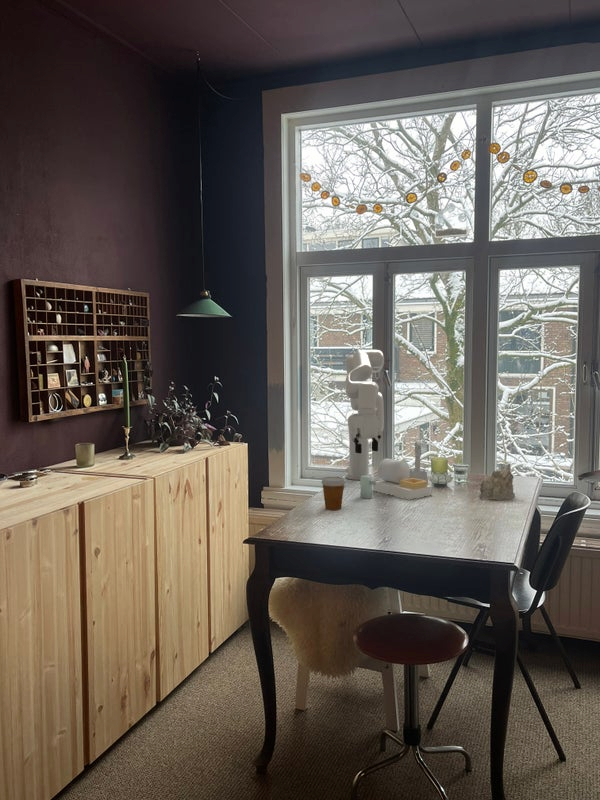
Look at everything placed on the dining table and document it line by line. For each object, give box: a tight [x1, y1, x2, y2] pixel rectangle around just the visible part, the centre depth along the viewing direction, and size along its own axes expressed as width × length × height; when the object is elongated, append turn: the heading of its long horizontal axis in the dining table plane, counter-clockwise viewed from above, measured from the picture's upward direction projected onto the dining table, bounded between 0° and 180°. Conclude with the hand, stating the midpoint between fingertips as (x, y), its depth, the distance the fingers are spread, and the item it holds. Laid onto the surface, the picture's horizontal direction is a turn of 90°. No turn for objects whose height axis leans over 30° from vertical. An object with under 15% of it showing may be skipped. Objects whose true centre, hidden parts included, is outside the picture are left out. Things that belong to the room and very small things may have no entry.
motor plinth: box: [372, 457, 433, 500], centre depth 292 cm, size 22×14×14 cm, turn 38°
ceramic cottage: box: [478, 463, 516, 500], centre depth 287 cm, size 16×16×15 cm
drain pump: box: [359, 475, 376, 500], centre depth 283 cm, size 8×5×9 cm, turn 38°
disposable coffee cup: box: [321, 476, 346, 511], centre depth 265 cm, size 10×10×12 cm
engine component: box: [408, 440, 429, 485], centre depth 311 cm, size 11×20×10 cm
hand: (366, 452), depth 283 cm, fingers open, 9 cm apart
